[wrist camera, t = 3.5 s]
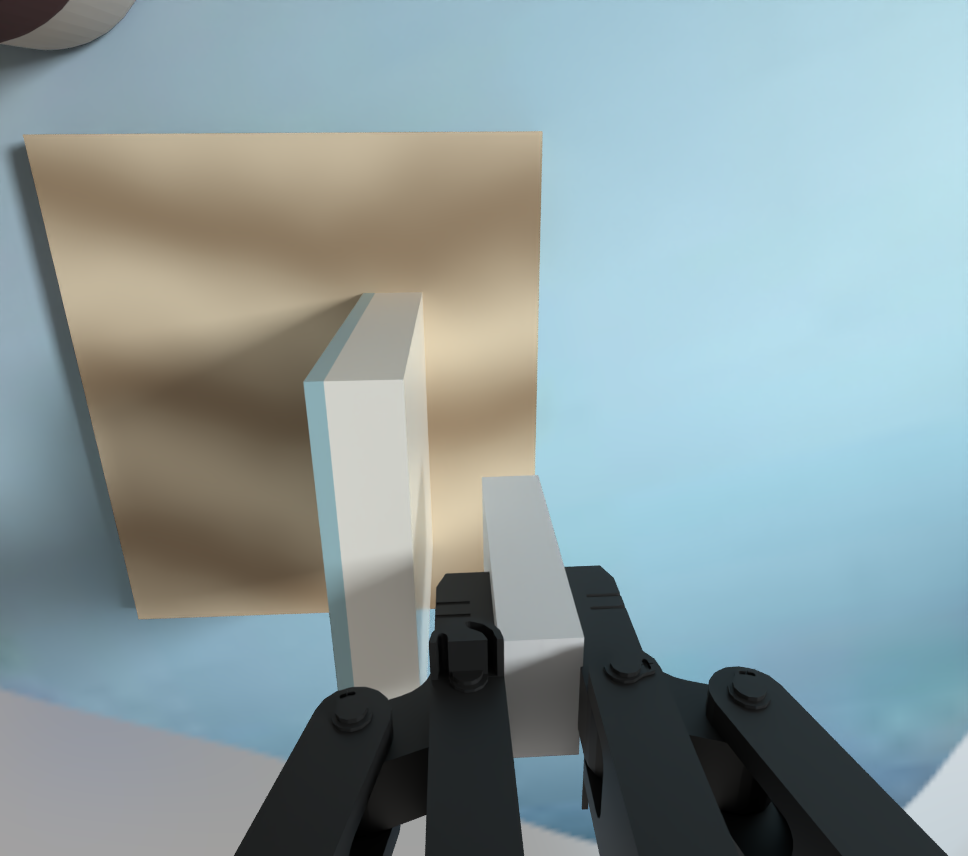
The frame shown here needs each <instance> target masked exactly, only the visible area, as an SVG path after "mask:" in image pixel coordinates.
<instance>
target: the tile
mask: <svg viewBox="0 0 968 856" xmlns="http://www.w3.org/2000/svg"><path fill="white" fill-rule="evenodd" d="M303 383H304V392H305V401H306V410H307V418H308V427H309V436H310V445H311V454H312V463H313V472H314V481H315V490H316V499H317V508H318V517H319V526H320V535H321V544H322V553H323V562H324V570H325V579H326V588H327V597H328V606H329V615H330V624H331V633H332V642H333V651H334V660H335V669H336V678H337V687H338V691H339V690H343V689H346V688H349V687H369V688H372V689H375V690H378V691H380V692H381V693H382V694H383V695H384V696H386V697H387V698H388V700H389V699H392V698H396V697H399V696H402V695H404V694H407V693H409V692H412V691H413V690H415V689H416V688H418V687H419V686H421V685H422V684H423V683H424V682H425V681H426V680H427V664H428V641H429V619H430V596H431V574H432V552H433V540H432V515H431V491H430V467H429V443H428V419H427V395H426V370H425V346H424V322H423V298H422V292H407V293H363V294H362V296H361V297H360V299H359V300H358V302H357V303H356V305H355V306H354V308H353V309H352V311H351V312H350V314H349V315H348V317H347V318H346V320H345V321H344V323H343V324H342V325H341V327H340V328H339V330H338V331H337V333H336V334H335V336H334V337H333V339H332V340H331V342H330V343H329V345H328V346H327V348H326V349H325V351H324V352H323V354H322V355H321V357H320V358H319V359H318V361H317V362H316V364H315V365H314V367H313V368H312V370H311V371H310V373H309V374H308V376H307V377H306V379H305V380H304V382H303Z"/></svg>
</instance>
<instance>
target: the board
mask: <svg viewBox="0 0 968 856" xmlns="http://www.w3.org/2000/svg"><path fill="white" fill-rule="evenodd" d="M23 137H24V141H25V145H26V150H27V154H28V158H29V162H30V166H31V171H32V175H33V179H34V183H35V187H36V191H37V196H38V200H39V204H40V208H41V212H42V217H43V221H44V225H45V229H46V233H47V237H48V242H49V246H50V250H51V254H52V258H53V263H54V267H55V271H56V275H57V279H58V283H59V288H60V292H61V296H62V300H63V304H64V309H65V313H66V317H67V321H68V325H69V329H70V334H71V338H72V342H73V346H74V350H75V355H76V359H77V363H78V367H79V371H80V375H81V380H82V384H83V388H84V392H85V396H86V401H87V405H88V409H89V413H90V417H91V421H92V426H93V430H94V434H95V438H96V442H97V447H98V451H99V455H100V459H101V463H102V467H103V472H104V476H105V480H106V484H107V488H108V493H109V497H110V501H111V505H112V509H113V513H114V518H115V522H116V526H117V530H118V534H119V539H120V543H121V547H122V551H123V555H124V559H125V564H126V568H127V572H128V576H129V580H130V585H131V589H132V593H133V597H134V601H135V605H136V610H137V614H138V618H139V619H161V618H189V617H217V616H245V615H273V614H301V613H329V606H328V597H327V588H326V579H325V570H324V562H323V553H322V544H321V535H320V526H319V517H318V508H317V499H316V490H315V481H314V472H313V463H312V454H311V445H310V436H309V427H308V418H307V410H306V401H305V392H304V383H303V382H304V380H305V379H306V377H307V376H308V374H309V373H310V371H311V370H312V368H313V367H314V365H315V364H316V362H317V361H318V359H319V358H320V357H321V355H322V354H323V352H324V351H325V349H326V348H327V346H328V345H329V343H330V342H331V340H332V339H333V337H334V336H335V334H336V333H337V331H338V330H339V328H340V327H341V325H342V324H343V323H344V321H345V320H346V318H347V317H348V315H349V314H350V312H351V311H352V309H353V308H354V306H355V305H356V303H357V302H358V300H359V299H360V297H361V296H362V294H363V293H407V292H422V298H423V322H424V346H425V370H426V395H427V419H428V443H429V467H430V491H431V515H432V540H433V552H432V574H431V596H430V609H435V607H436V587H437V585H438V584H439V582H440V581H441V580H442V578H443V577H444V575H445V574H446V573H469V572H484V555H483V506H482V477H501V476H529V475H535V441H536V397H537V352H538V307H539V263H540V218H541V173H542V131H531V132H369V133H206V134H43V135H23Z"/></svg>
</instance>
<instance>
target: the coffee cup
mask: <svg viewBox="0 0 968 856" xmlns="http://www.w3.org/2000/svg"><path fill="white" fill-rule="evenodd" d="M135 1H136V0H0V44H4V45H10V46H17V47H23V48H30V49H39V50H60V49H66V48H72V47H76V46H79V45H83V44H86V43H89V42H91V41H93V40H94V39H96V38H98V37H100V36H102V35H104V34H105V33H107V32H109V31H110V30H111V29H112V28H113V27H114V26H115V25H116V24H117V23H118V22H120V21H121V20H122V19H123V18H124V17H125V15H126V14H127V13H128V11H129V10H130V8H131V7H132V5H133V4H134V2H135Z"/></svg>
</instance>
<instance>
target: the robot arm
mask: <svg viewBox="0 0 968 856" xmlns="http://www.w3.org/2000/svg"><path fill="white" fill-rule="evenodd" d="M482 506H483V555H484V572H469V573H446V574H445V575H444V577H443V578H442V580H441V581H440V582H439V584H438V585H437V587H436V607H435V630H434V631H433V632H432V634H431V637H430V640H429V656H430V673H431V674H430V676H429V677H428V679H427V680H426V681H425V682H424V683H423V684H422V685H421V686H419V687H418V688H416V689H415V690H413V691H412V692H409V693H407V694H404V695H402V696H399V697H396V698H392V699H389V700H388V698H387V697H386V696H384V695H383V694H382V693H381V692H380V691H378V690H375V689H372V688H369V687H349V688H346V689H343V690H339V691H336V692H335V693H333V694H332V695H330V696H329V697H327V698H325V699H324V700H323V701H322V702H321V704H320V705H319V706H318V707H317V708H316V710H315V711H314V713H313V715H312V717H311V719H310V720H309V722H308V724H307V726H306V728H305V729H304V731H303V733H302V735H301V737H300V738H299V740H298V742H297V744H296V745H295V747H294V749H293V751H292V753H291V754H290V756H289V758H288V760H287V762H286V763H285V765H284V767H283V769H282V771H281V772H280V774H279V776H278V778H277V779H276V781H275V783H274V785H273V787H272V789H271V790H270V792H269V794H268V796H267V798H266V799H265V801H264V803H263V805H262V806H261V808H260V810H259V812H258V813H257V815H256V817H255V819H254V821H253V823H252V824H251V826H250V828H249V830H248V831H247V833H246V835H245V837H244V839H243V840H242V842H241V844H240V846H239V847H238V849H237V851H236V853H235V855H234V856H392V853H393V850H394V847H395V844H396V841H397V838H398V835H399V831H400V825H401V824H403V823H406V822H409V821H411V820H414V819H416V818H419V817H422V816H424V815H426V845H425V856H524V850H523V841H522V832H521V823H520V814H519V805H518V796H517V787H516V778H515V769H514V759H513V758H520V757H539V756H558V755H578V754H579V738H580V740H581V744H582V748H583V753H584V771H583V790H582V809H588V803H589V807H590V812H591V817H592V821H593V826H594V831H595V835H596V840H597V845H598V849H599V854H600V856H948V855H947V854H946V853H945V852H944V851H943V850H942V849H941V848H940V847H939V846H938V845H937V844H936V843H935V842H934V841H933V840H932V839H931V838H930V837H929V836H928V835H927V834H926V833H925V832H924V831H923V829H922V828H921V827H920V826H919V825H917V823H916V822H915V821H914V820H913V819H912V818H911V817H910V816H909V815H908V814H907V813H906V812H905V811H904V810H903V809H902V808H901V807H900V806H899V805H898V804H897V803H896V802H895V801H894V800H893V799H892V798H891V797H890V796H889V795H888V794H887V793H886V792H885V791H884V790H883V789H882V788H881V787H880V786H879V785H878V784H877V783H876V781H875V780H874V779H873V778H872V777H871V776H870V775H869V774H868V773H867V772H866V771H865V770H864V769H863V768H862V767H861V766H860V765H859V764H858V763H857V762H856V761H855V760H854V759H853V758H852V757H851V756H850V755H849V754H848V753H847V752H846V751H845V750H844V749H843V748H842V747H841V746H840V745H839V744H838V743H837V742H836V741H835V740H834V739H833V738H832V737H831V736H830V735H829V734H828V732H827V731H826V730H825V729H824V728H823V727H822V726H821V725H820V724H819V723H818V722H817V721H816V720H815V719H814V718H813V717H812V716H811V715H810V714H809V713H808V712H807V711H806V710H805V709H804V708H803V707H802V706H801V705H800V704H799V703H798V702H797V701H796V700H795V699H794V698H793V697H792V696H791V695H790V694H789V693H788V692H787V691H786V690H785V689H784V688H783V687H782V686H781V685H780V684H779V683H778V682H776V681H775V680H774V679H773V678H771V677H770V676H768V675H766V674H764V673H762V672H759V671H757V670H755V669H750V668H745V667H726V668H723V669H721V670H719V671H717V672H715V673H714V674H713V676H712V677H711V678H710V680H709V685H708V684H703V683H698V682H692V681H687V680H683V679H679V678H676V677H673V676H671V675H668V674H666V673H664V672H662V669H661V668H660V666H659V665H658V663H657V662H656V660H655V659H654V658H652V657H651V656H649V655H648V654H647V653H645V652H644V651H643V650H642V648H641V645H640V643H639V640H638V638H637V635H636V633H635V630H634V628H633V625H632V623H631V620H630V618H629V615H628V613H627V610H626V608H625V605H624V603H623V600H622V597H621V596H620V592H619V590H618V587H617V585H616V582H615V580H614V578H613V577H612V576H611V575H610V574H609V573H608V572H606V571H605V570H604V569H603V568H602V567H601V566H576V567H564V565H563V561H562V558H561V554H560V550H559V547H558V543H557V540H556V536H555V533H554V529H553V526H552V522H551V519H550V515H549V512H548V508H547V505H546V501H545V498H544V494H543V491H542V487H541V484H540V480H539V477H538V475H529V476H501V477H482Z"/></svg>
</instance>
